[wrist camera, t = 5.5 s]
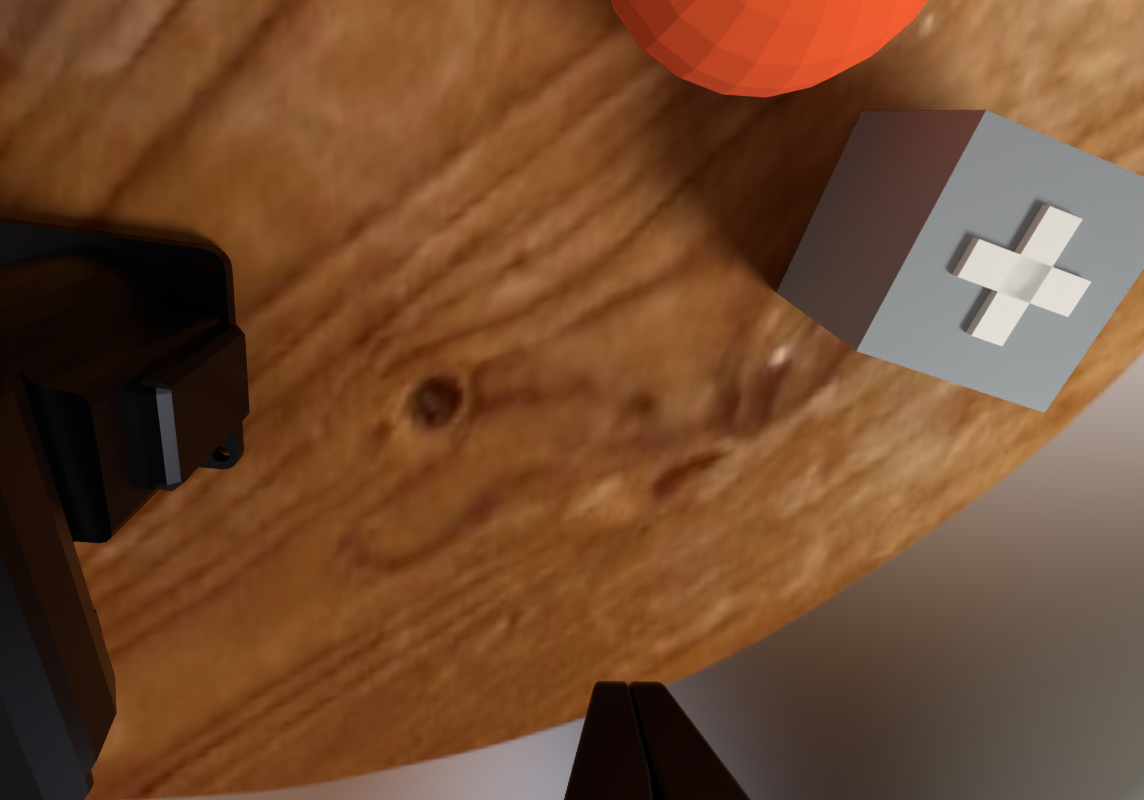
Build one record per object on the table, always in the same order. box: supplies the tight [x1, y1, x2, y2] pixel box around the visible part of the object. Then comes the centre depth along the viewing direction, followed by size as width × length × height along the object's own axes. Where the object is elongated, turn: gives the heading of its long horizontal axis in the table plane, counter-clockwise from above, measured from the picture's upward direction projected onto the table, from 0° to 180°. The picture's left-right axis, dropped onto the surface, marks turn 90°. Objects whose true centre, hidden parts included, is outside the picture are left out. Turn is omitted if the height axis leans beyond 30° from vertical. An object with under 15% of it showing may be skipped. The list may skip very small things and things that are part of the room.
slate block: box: [777, 110, 1144, 413], centre depth 15 cm, size 5×5×5 cm
